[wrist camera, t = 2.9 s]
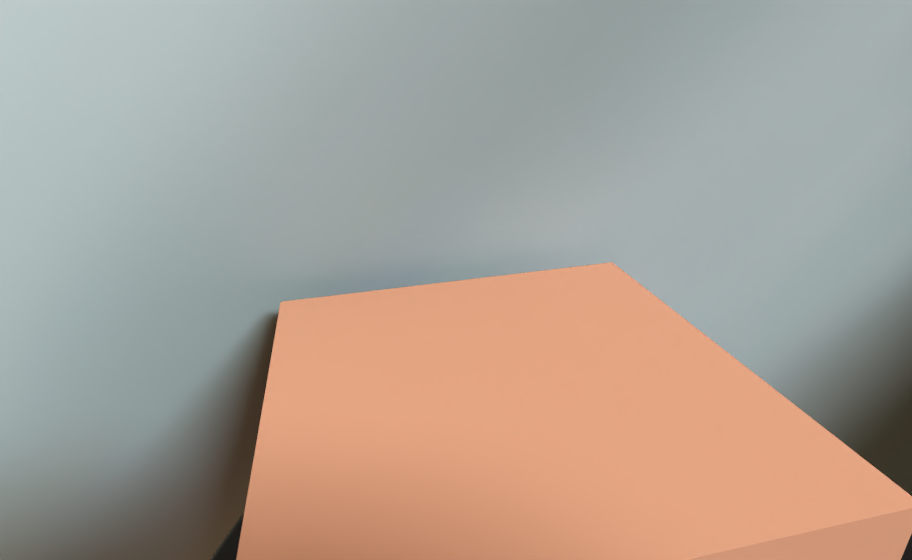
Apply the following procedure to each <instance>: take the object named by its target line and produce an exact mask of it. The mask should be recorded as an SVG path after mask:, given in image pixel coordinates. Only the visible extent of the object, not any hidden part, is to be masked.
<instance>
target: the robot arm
mask: <svg viewBox="0 0 912 560" xmlns="http://www.w3.org/2000/svg"><path fill="white" fill-rule="evenodd" d="M244 512H245V511H244ZM244 512H243V514H242V515H241V516H240V518H239V519H238V521H237V522H236V524H235V525H234V527H233V528H232V529H231V531H230V532H229V534H228V535H227V537H226V538H225V539H224V541H223V542H222V544H221V545H220V547H219V548H218V550H217V551H216V552H215V554H214V555H213V557H212V558H211V560H236V558H237V552H238V547H239V541H240V535H241V529H242V523H243V517H244ZM901 560H912V534H911V536H910V539H909V541H908V543H907V546H906V548H905V551H904V553H903V555H902V558H901Z"/></svg>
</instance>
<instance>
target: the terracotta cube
mask: <svg viewBox="0 0 912 560" xmlns="http://www.w3.org/2000/svg"><path fill="white" fill-rule="evenodd" d="M911 534H912V496H911V495H910V494H908V493H907V492H906V491H904V490H903V489H902V488H901V487H899V486H898V485H897V484H895V483H894V482H893V481H892V480H890V479H889V478H888V477H887V476H885V475H884V474H883V473H881V472H880V471H879V470H878V469H876V468H875V467H874V466H872V465H871V464H870V463H869V462H867V461H866V460H865V459H863V458H862V457H861V456H860V455H858V454H857V453H856V452H854V451H853V450H852V449H851V448H849V447H848V446H847V445H846V444H844V443H843V442H842V441H840V440H839V439H838V438H837V437H835V436H834V435H833V434H831V433H830V432H829V431H828V430H826V429H825V428H824V427H822V426H821V425H820V424H819V423H817V422H816V421H815V420H813V419H812V418H811V417H810V416H808V415H807V414H806V413H805V412H803V411H802V410H801V409H799V408H798V407H797V406H796V405H794V404H793V403H792V402H790V401H789V400H788V399H787V398H785V397H784V396H783V395H781V394H780V393H779V392H778V391H776V390H775V389H774V388H772V387H771V386H770V385H769V384H767V383H766V382H765V381H764V380H762V379H761V378H760V377H758V376H757V375H756V374H755V373H753V372H752V371H751V370H749V369H748V368H747V367H746V366H744V365H743V364H742V363H740V362H739V361H738V360H737V359H735V358H734V357H733V356H731V355H730V354H729V353H728V352H726V351H725V350H724V349H723V348H721V347H720V346H719V345H717V344H716V343H715V342H714V341H712V340H711V339H710V338H708V337H707V336H706V335H705V334H703V333H702V332H701V331H699V330H698V329H697V328H696V327H694V326H693V325H692V324H690V323H689V322H688V321H687V320H685V319H684V318H683V317H682V316H680V315H679V314H678V313H676V312H675V311H674V310H673V309H671V308H670V307H669V306H667V305H666V304H665V303H664V302H662V301H661V300H660V299H658V298H657V297H656V296H655V295H653V294H652V293H651V292H649V291H648V290H647V289H646V288H644V287H643V286H642V285H641V284H639V283H638V282H637V281H635V280H634V279H633V278H632V277H630V276H629V275H628V274H626V273H625V272H624V271H623V270H621V269H620V268H619V267H617V266H616V265H615V264H614V263H612V262H611V263H602V264H594V265H586V266H577V267H569V268H560V269H552V270H544V271H535V272H527V273H518V274H510V275H502V276H493V277H485V278H477V279H468V280H460V281H451V282H443V283H435V284H426V285H418V286H409V287H401V288H393V289H384V290H376V291H368V292H359V293H351V294H342V295H334V296H326V297H317V298H309V299H300V300H292V301H284V302H281V303H280V308H279V314H278V320H277V326H276V332H275V337H274V343H273V349H272V355H271V361H270V366H269V372H268V378H267V384H266V390H265V395H264V401H263V407H262V413H261V419H260V425H259V430H258V436H257V442H256V448H255V454H254V459H253V465H252V471H251V477H250V483H249V488H248V494H247V500H246V506H245V512H244V517H243V523H242V529H241V535H240V541H239V547H238V552H237V558H236V560H901V558H902V555H903V553H904V551H905V548H906V546H907V543H908V541H909V539H910V536H911Z"/></svg>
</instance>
